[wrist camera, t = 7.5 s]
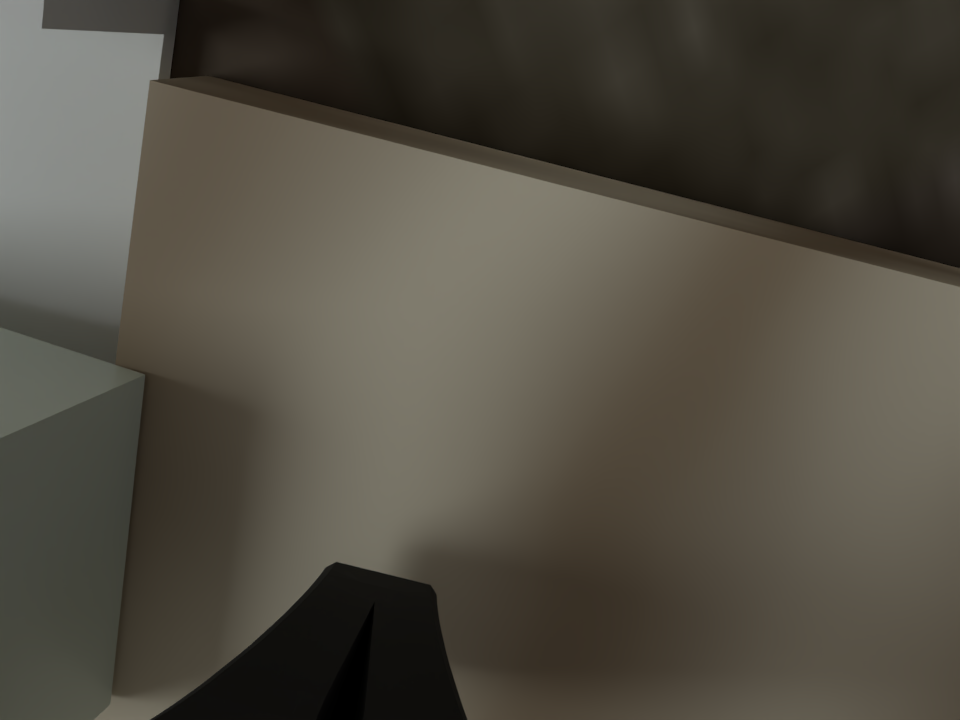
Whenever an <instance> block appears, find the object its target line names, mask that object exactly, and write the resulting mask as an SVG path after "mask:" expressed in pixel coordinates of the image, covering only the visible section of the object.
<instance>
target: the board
mask: <svg viewBox="0 0 960 720" xmlns="http://www.w3.org/2000/svg"><path fill="white" fill-rule="evenodd" d="M115 365H118V366H121V367H124V368H127V369H130V370H133V371H136V372H139V373H142V374H145V382H144V392H143V401H142V410H141V420H140V429H139V439H138V448H137V458H136V467H135V476H134V486H133V495H132V505H131V514H130V524H129V533H128V542H127V552H126V561H125V571H124V580H123V590H122V599H121V608H120V618H119V627H118V637H117V646H116V656H115V665H114V674H113V684H112V693H111V703H110V705H109V706H108V707H107V708H106V709H105V710H104V711H103V712H102V713H100V714H99V715H98V716H97V717H96V718H95V719H94V720H150V719H152V718H153V717H155V716H156V715H158V714H160V713H161V712H163V711H164V710H166V709H167V708H169V707H170V706H172V705H173V704H174V703H176V702H177V701H179V700H180V699H182V698H183V697H184V696H186V695H187V694H189V693H190V692H191V691H193V690H194V689H196V688H197V687H198V686H200V685H201V684H202V683H204V682H205V681H206V680H207V679H209V678H210V677H211V676H212V675H214V674H215V673H216V672H218V671H219V670H220V669H221V668H223V667H224V666H225V665H226V664H228V663H229V662H230V661H231V660H233V659H234V658H235V657H236V656H238V655H239V654H240V653H241V652H243V651H244V650H245V649H246V648H247V647H248V646H250V645H251V644H252V643H253V642H254V641H255V640H256V639H257V638H259V637H260V636H261V635H262V634H263V633H264V632H265V631H266V630H267V629H268V628H269V627H271V626H272V625H273V624H274V623H275V622H276V621H277V620H278V619H279V618H280V617H281V616H283V615H284V614H285V613H286V612H287V611H288V610H289V609H290V607H291V606H292V605H293V604H294V603H295V602H296V601H297V600H298V599H299V598H300V597H301V596H302V595H303V594H304V593H305V592H306V591H307V590H308V589H309V588H310V586H311V585H312V584H313V583H314V582H315V581H316V579H317V578H318V577H319V576H320V574H321V573H322V572H323V570H324V569H325V568H326V567H327V566H329V565H331V564H333V563H335V562H339V563H343V564H348V565H352V566H356V567H360V568H364V569H368V570H372V571H376V572H380V573H384V574H388V575H393V576H397V577H401V578H405V579H409V580H413V581H417V582H421V583H425V584H429V585H431V586H432V588H433V589H434V591H435V593H436V594H437V606H438V614H439V621H440V626H441V631H442V636H443V640H444V644H445V649H446V653H447V657H448V660H449V664H450V668H451V671H452V674H453V678H454V681H455V684H456V687H457V690H458V693H459V696H460V700H461V703H462V706H463V709H464V711H465V714H466V717H467V720H960V268H957V267H953V266H949V265H945V264H941V263H937V262H934V261H930V260H926V259H922V258H918V257H914V256H910V255H906V254H902V253H898V252H895V251H891V250H887V249H883V248H879V247H875V246H871V245H867V244H863V243H859V242H855V241H852V240H848V239H844V238H840V237H836V236H832V235H828V234H824V233H820V232H816V231H813V230H809V229H805V228H801V227H797V226H793V225H789V224H785V223H781V222H777V221H774V220H770V219H766V218H762V217H758V216H754V215H750V214H746V213H742V212H738V211H734V210H731V209H727V208H723V207H719V206H715V205H711V204H707V203H703V202H699V201H695V200H692V199H688V198H684V197H680V196H676V195H672V194H668V193H664V192H660V191H656V190H652V189H649V188H645V187H641V186H637V185H633V184H629V183H625V182H621V181H617V180H613V179H610V178H606V177H602V176H598V175H594V174H590V173H586V172H582V171H578V170H574V169H571V168H567V167H563V166H559V165H555V164H551V163H547V162H543V161H539V160H535V159H531V158H528V157H524V156H520V155H516V154H512V153H508V152H504V151H500V150H496V149H492V148H489V147H485V146H481V145H477V144H473V143H469V142H465V141H461V140H457V139H453V138H450V137H446V136H442V135H438V134H434V133H430V132H426V131H422V130H418V129H414V128H410V127H407V126H403V125H399V124H395V123H391V122H387V121H383V120H379V119H375V118H371V117H368V116H364V115H360V114H356V113H352V112H348V111H344V110H340V109H336V108H332V107H329V106H325V105H321V104H317V103H313V102H309V101H305V100H301V99H297V98H293V97H289V96H286V95H282V94H278V93H274V92H270V91H266V90H262V89H258V88H254V87H250V86H247V85H243V84H239V83H235V82H231V81H227V80H223V79H219V78H215V77H211V76H198V77H185V78H172V79H158V80H150V83H149V91H148V99H147V107H146V116H145V124H144V132H143V140H142V148H141V157H140V165H139V173H138V181H137V189H136V198H135V206H134V214H133V222H132V230H131V239H130V247H129V255H128V263H127V271H126V280H125V288H124V296H123V304H122V312H121V320H120V329H119V337H118V345H117V353H116V361H115Z"/></svg>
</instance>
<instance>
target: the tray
mask: <svg viewBox="0 0 960 720" xmlns="http://www.w3.org/2000/svg"><path fill="white" fill-rule="evenodd" d="M179 3H180V0H0V327H1V328H4V329H7V330H10V331H13V332H16V333H19V334H22V335H26V336H29V337H32V338H35V339H38V340H41V341H44V342H47V343H50V344H53V345H56V346H59V347H62V348H65V349H69V350H72V351H75V352H78V353H81V354H84V355H87V356H90V357H93V358H96V359H99V360H102V361H105V362H108V363H111V364H115V361H116V353H117V345H118V337H119V329H120V320H121V312H122V304H123V296H124V288H125V280H126V271H127V263H128V255H129V247H130V239H131V230H132V222H133V214H134V206H135V198H136V189H137V181H138V173H139V165H140V157H141V148H142V140H143V132H144V124H145V116H146V107H147V99H148V91H149V83H150V80H158V79H170V73H171V65H172V57H173V49H174V42H175V34H176V26H177V18H178V11H179Z"/></svg>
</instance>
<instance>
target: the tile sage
mask: <svg viewBox="0 0 960 720" xmlns="http://www.w3.org/2000/svg"><path fill="white" fill-rule="evenodd" d="M144 382H145V374H142V373H139V372H136V371H133V370H130V369H127V368H124V367H121V366H118V365H115V364H111V363H108V362H105V361H102V360H99V359H96V358H93V357H90V356H87V355H84V354H81V353H78V352H75V351H72V350H69V349H65V348H62V347H59V346H56V345H53V344H50V343H47V342H44V341H41V340H38V339H35V338H32V337H29V336H26V335H22V334H19V333H16V332H13V331H10V330H7V329H4V328H1V327H0V720H94V719H95V718H96V717H97V716H98V715H99V714H100V713H102V712H103V711H104V710H105V709H106V708H107V707H108V706H109V705H110V703H111V693H112V684H113V674H114V665H115V656H116V646H117V637H118V627H119V618H120V608H121V599H122V590H123V580H124V571H125V561H126V552H127V542H128V533H129V524H130V514H131V505H132V495H133V486H134V476H135V467H136V458H137V448H138V439H139V429H140V420H141V410H142V401H143V392H144Z"/></svg>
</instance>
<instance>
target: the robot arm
mask: <svg viewBox="0 0 960 720" xmlns="http://www.w3.org/2000/svg"><path fill="white" fill-rule="evenodd" d="M150 720H467V717H466V714H465V711H464V709H463V706H462V703H461V700H460V696H459V693H458V690H457V687H456V684H455V681H454V678H453V674H452V671H451V668H450V664H449V660H448V657H447V653H446V649H445V644H444V640H443V636H442V631H441V626H440V621H439V614H438V606H437V594H436V593H435V591H434V589H433V588H432V586H431V585H429V584H425V583H421V582H417V581H413V580H409V579H405V578H401V577H397V576H393V575H388V574H384V573H380V572H376V571H372V570H368V569H364V568H360V567H356V566H352V565H348V564H343V563H339V562H335V563H333V564H331V565H329V566H327V567H326V568H325V569H324V570H323V572H322V573H321V574H320V576H319V577H318V578H317V579H316V581H315V582H314V583H313V584H312V585H311V586H310V588H309V589H308V590H307V591H306V592H305V593H304V594H303V595H302V596H301V597H300V598H299V599H298V600H297V601H296V602H295V603H294V604H293V605H292V606H291V607H290V609H289V610H288V611H287V612H286V613H285V614H284V615H283V616H281V617H280V618H279V619H278V620H277V621H276V622H275V623H274V624H273V625H272V626H271V627H269V628H268V629H267V630H266V631H265V632H264V633H263V634H262V635H261V636H260V637H259V638H257V639H256V640H255V641H254V642H253V643H252V644H251V645H250V646H248V647H247V648H246V649H245V650H244V651H243V652H241V653H240V654H239V655H238V656H236V657H235V658H234V659H233V660H231V661H230V662H229V663H228V664H226V665H225V666H224V667H223V668H221V669H220V670H219V671H218V672H216V673H215V674H214V675H212V676H211V677H210V678H209V679H207V680H206V681H205V682H204V683H202V684H201V685H200V686H198V687H197V688H196V689H194V690H193V691H191V692H190V693H189V694H187V695H186V696H184V697H183V698H182V699H180V700H179V701H177V702H176V703H174V704H173V705H172V706H170V707H169V708H167V709H166V710H164V711H163V712H161V713H160V714H158V715H156V716H155V717H153V718H152V719H150Z"/></svg>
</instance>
